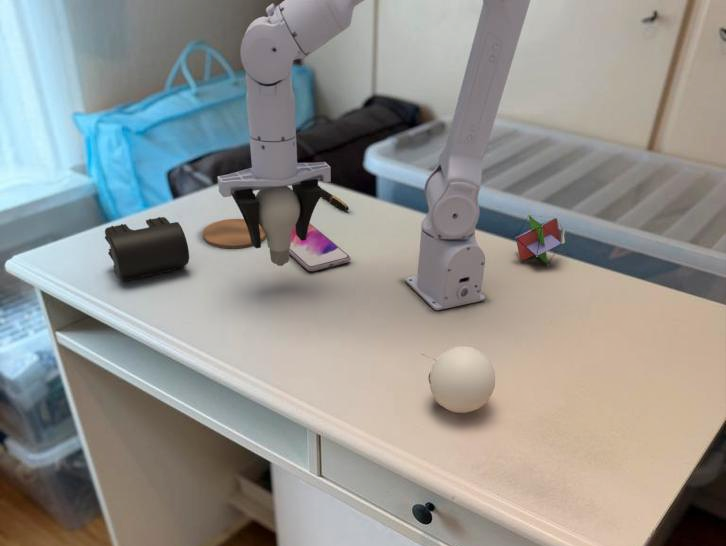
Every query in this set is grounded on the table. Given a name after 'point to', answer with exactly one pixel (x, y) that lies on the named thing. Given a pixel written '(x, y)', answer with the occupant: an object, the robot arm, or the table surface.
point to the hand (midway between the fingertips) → (279, 241)
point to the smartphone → (316, 250)
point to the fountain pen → (334, 200)
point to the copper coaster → (229, 234)
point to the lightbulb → (278, 220)
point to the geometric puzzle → (539, 240)
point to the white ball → (462, 379)
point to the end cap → (147, 248)
